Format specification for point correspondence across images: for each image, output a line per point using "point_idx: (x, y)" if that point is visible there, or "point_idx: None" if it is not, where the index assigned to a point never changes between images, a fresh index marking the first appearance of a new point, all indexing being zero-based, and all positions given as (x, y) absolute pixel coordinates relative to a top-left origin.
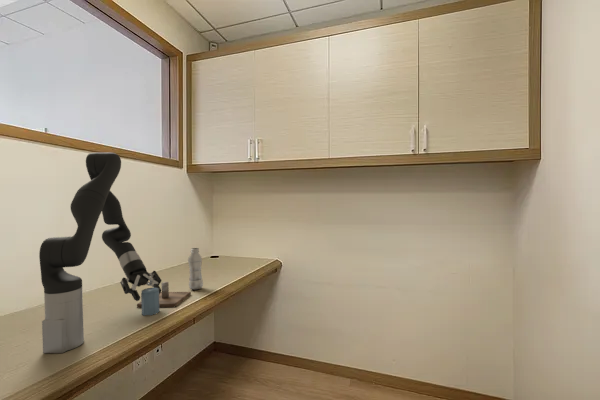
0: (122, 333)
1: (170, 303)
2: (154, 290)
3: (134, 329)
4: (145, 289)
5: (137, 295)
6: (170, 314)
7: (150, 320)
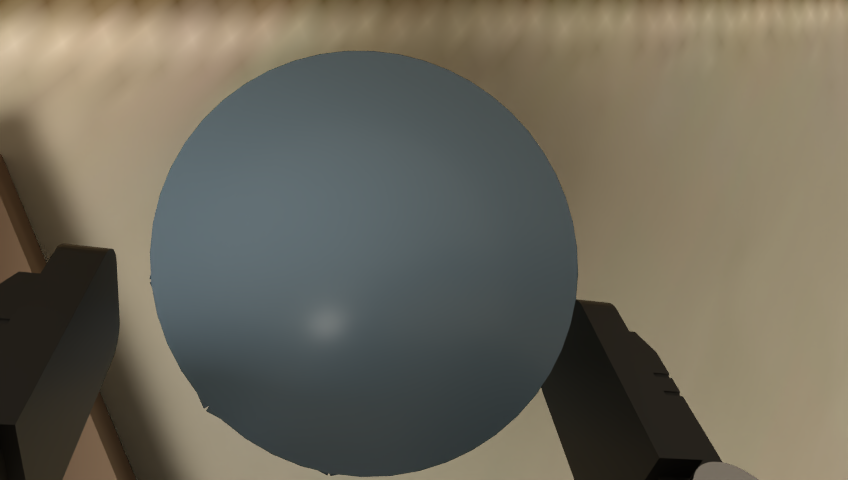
0: (786, 86)
1: (4, 209)
2: (381, 78)
3: (696, 57)
4: (412, 408)
5: (631, 341)
6: (267, 9)
7: (495, 91)
